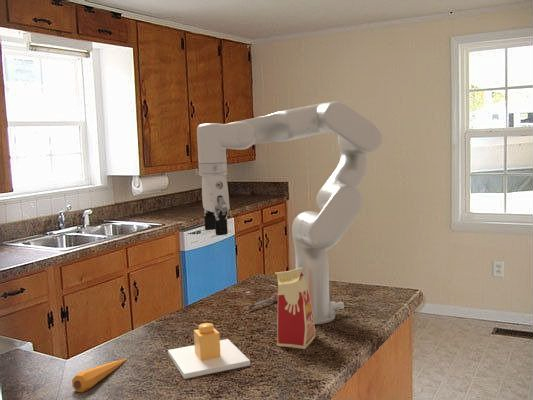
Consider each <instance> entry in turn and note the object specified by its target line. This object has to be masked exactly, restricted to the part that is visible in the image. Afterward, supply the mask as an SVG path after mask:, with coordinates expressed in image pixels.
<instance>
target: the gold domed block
mask: <svg viewBox="0 0 533 400" xmlns="http://www.w3.org/2000/svg"><path fill="white" fill-rule="evenodd" d="M193 339H194V340H193V341H194V343H193V345H195V354H196V355H197V357H198V358H199V359H200V360H201V361H202V360H207V359H212V358H217V357H221V355H220V340H221V339H220V332H219V331H218V330H217V329H216V328H215V327H214V324H213V323H211V322H204V323H201V324H198V329H194V330H193Z"/></svg>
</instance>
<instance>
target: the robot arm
mask: <svg viewBox="0 0 533 400" xmlns="http://www.w3.org/2000/svg"><path fill="white" fill-rule="evenodd" d="M326 133H327V134H328V133H335V134H336V135H337V144H338V147H339V152H340V157H339V162H338V164H337V166H336V168H335V169H334V171H332V174H331V175H330V176H329V177H328V178H327V180H326V181H325V183H324V184H323V186H322V187H321V188H320V189H319V191H318V192H317V195H316V205H317V206H318V209H320V210H321V211H320V212H316V211H313V210H312V211H311V210H308V211H307V210H306V211H303V212H301V213H299V214H298V215H297V216H296V217H295V218H294V219H293V222H292V227H291V233H292V235H291V236H292V240H293V247H294V255H295V256H294V258H295V269H297V268H301V267H302V270H301V272H302V274H303V275H304V278H305V281H306V285H307V289H308V292H309V296H310V301H311V306H312V312H313V317H314V326H315V325H323V324H327V323H331V322H332V321H334V320H335V319H336V314H335V310H340V309H344V308H345V303H344V301H339V302H336V301H335V300H333V301H330V279H329V254H328V250H329V249H331V248H333V247H334V246H336V245H337V243H339V241H340V240H341V239H342V237H344V235H345V233H346V232H347V231H348V229H349V228H350V227H351V225H352V224H353V222H354V221H355V220H356V218H357V217H358V216H359V214H360V211H361V208H362V206H363V197H362V193H361V191H360V189H359V187H360V185H361V184H362V182H363V180H364V179H365V177H366V174H367V170H368V157H367V155H370V154H373V153H375V152H377V151H378V150H379V149H380V148H381V145H382V143H383V136H382V132H381V129H380V128H379V127H378V126H377V125H376V124H374V123H373V122H372V121H370V120H369V119H367V118H366V117H364V116H363V115H362V114H360V113H359V112H357V111H356V110H355V109H353V108H352V107H350V106H349V105H347V104H345V103H343V102H341V101H335V100H334V101H329V102H322V103H321V102H320V103H316V104H315V103H314V104H311V105H306V106H299V107H296V108H290V109H285V110H281V111H276V112H274V113H270V114H267V115H263V116H257V117H253V118H248V119H243V120H238V121H233V122H229V123H217V122H213V123H201V124H199V125H198V126H197V127H196V140H197V157H198V175H199V176H200V177H201V196H202V197H201V198H202V199H201V200H202V208H203V209H204V211H203V215H204V216H203V217H204V230H205V231H213V230H214V231H215V236H225V235H228V229H229V228H228V212H229V210H230V209H231V208H230V197H229V196H230V195H229V187H228V179H227V175H228V166H227V161H228V160H227V149H228V150H241V151H242V150H247V149H249V148H251V147H252V146H255V145H258V144H265V143H278V142H279V143H281V142H289V141H293V140H294V141H295V140H298V139H303V138H308V137H311V136H312V137H313V136H319V135H323V134H326Z"/></svg>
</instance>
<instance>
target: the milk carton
mask: <svg viewBox="0 0 533 400" xmlns="http://www.w3.org/2000/svg"><path fill="white" fill-rule="evenodd" d="M301 270H302V267H301V268H297V269H296V268H295V269H292V270H291V269H290V270H287V271H279V272H274V274H275V275H276V276H277V287H278V288H277V293H278V301H277V316H276V317H277V324H276V325H277V327H276V331H277V335H276V338H277V342H276V343H277V347H285V348H295V349H302V350H303V349H304V350H305V349H306V348H308V347H309V346H310V344H311V343H312V342H313V340H314V339H315V338H316V327H315V325H314V317H313V312H312V306H311V301H310V296H309V292H308V289H307V285H306V281H305V278H304V275H303V274H302V272H301Z"/></svg>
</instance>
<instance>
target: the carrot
mask: <svg viewBox="0 0 533 400" xmlns="http://www.w3.org/2000/svg"><path fill="white" fill-rule="evenodd" d="M128 359H129V357H128V358H124V359H119V360H115V361H111V362H108V363H105V364H101V365H98V366H95V367H91V368H88V369H85V370H81V371H79V372H78V373H77V374H76V375H75V376H74V377H73V378H72V380H71V381H72V382H71V386H72V388H73V389H74V391H75V392H76V393H77V392H78V393H85V392H87V391H89V390H91V388H93V387H94V386H96V385H97V384H98V383H100V382H101V381H102V380H104V379H105V378H106V377H107V376H109V375H110V374H111V373H113V372H114V371H115V370H116V369H118V368H120V366H122V364H124V363H125V362H126V361H127V360H128Z"/></svg>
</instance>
